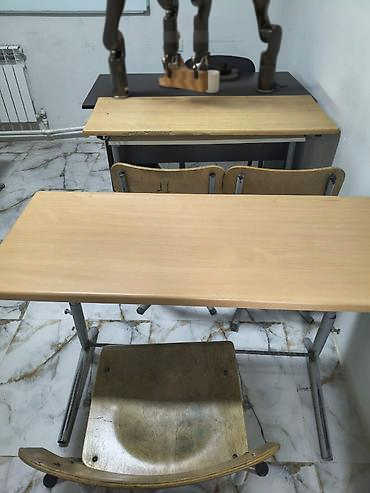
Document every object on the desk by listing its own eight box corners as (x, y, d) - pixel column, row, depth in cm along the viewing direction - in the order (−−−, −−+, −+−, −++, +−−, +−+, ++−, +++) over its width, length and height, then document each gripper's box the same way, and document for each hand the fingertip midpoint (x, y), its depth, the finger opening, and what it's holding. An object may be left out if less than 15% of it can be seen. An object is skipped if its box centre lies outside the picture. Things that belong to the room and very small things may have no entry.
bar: (165, 85, 192) (164, 67, 186) (170, 82, 195) (169, 65, 189) (203, 92, 181) (203, 74, 176) (208, 89, 184) (208, 71, 179)
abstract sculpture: (206, 66, 216) (199, 58, 231) (206, 82, 222) (199, 74, 237) (246, 63, 219) (237, 56, 234) (245, 79, 224) (236, 71, 240)
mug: (199, 94, 205) (199, 75, 198) (197, 89, 211) (197, 71, 204) (220, 92, 206) (220, 73, 199) (217, 88, 212) (217, 69, 205)
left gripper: (168, 43, 172) (170, 81, 183) (185, 38, 181) (185, 74, 192) (156, 42, 175) (158, 79, 186) (173, 37, 184) (174, 72, 195)
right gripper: (199, 43, 163) (199, 81, 174) (215, 38, 172) (214, 74, 183) (186, 42, 167) (186, 79, 177) (202, 37, 176) (201, 72, 186)
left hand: (172, 76), depth 189 cm, fingers closed on bar, 4 cm apart
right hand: (200, 76), depth 180 cm, fingers open, 8 cm apart
